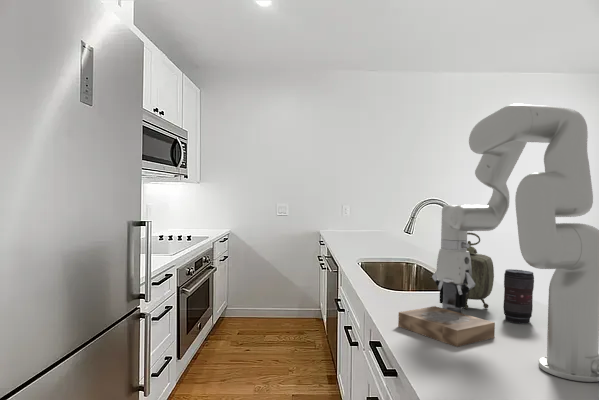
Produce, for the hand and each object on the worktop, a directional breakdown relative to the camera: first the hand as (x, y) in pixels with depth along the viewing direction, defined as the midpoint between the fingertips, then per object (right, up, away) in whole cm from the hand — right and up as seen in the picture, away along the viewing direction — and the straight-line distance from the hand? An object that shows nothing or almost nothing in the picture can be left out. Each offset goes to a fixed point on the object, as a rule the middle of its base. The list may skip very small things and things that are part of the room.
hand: (452, 304), depth 143 cm
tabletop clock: (+9, -4, +13) cm, 17 cm away
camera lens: (+19, -5, -2) cm, 20 cm away
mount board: (-7, -4, -15) cm, 17 cm away
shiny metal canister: (0, -4, 0) cm, 4 cm away
